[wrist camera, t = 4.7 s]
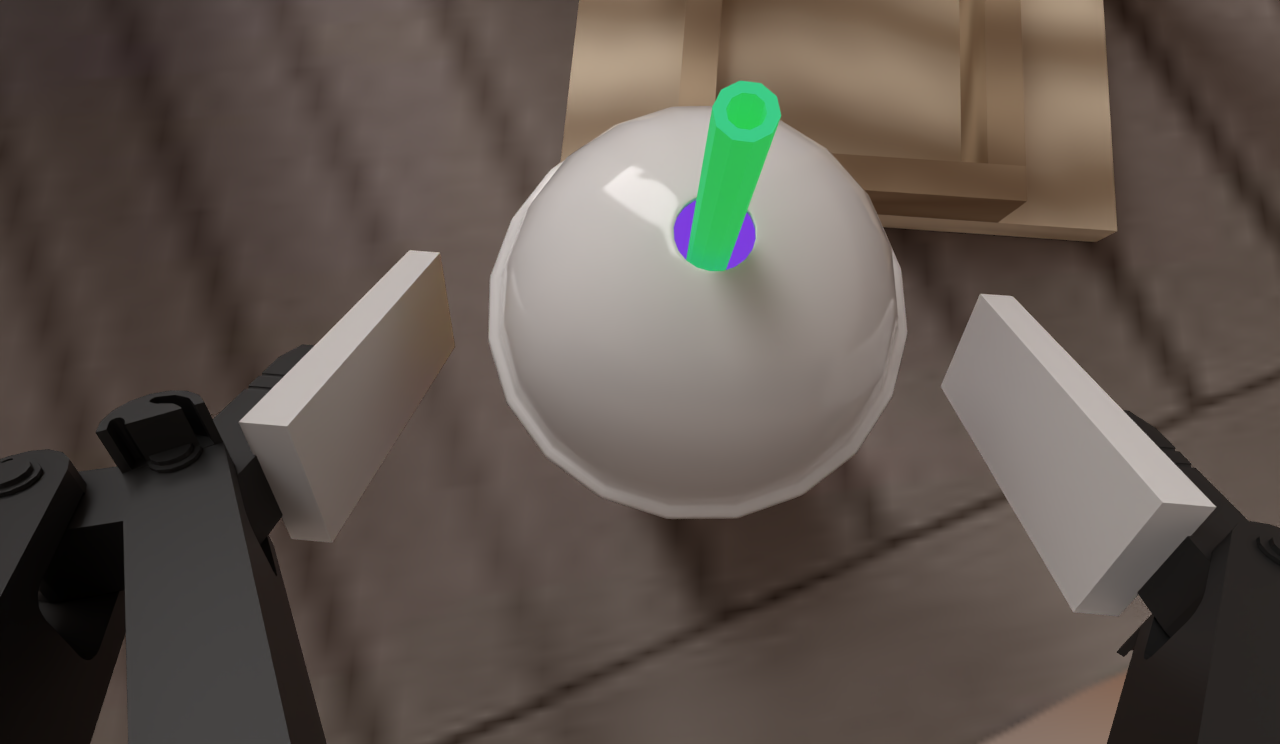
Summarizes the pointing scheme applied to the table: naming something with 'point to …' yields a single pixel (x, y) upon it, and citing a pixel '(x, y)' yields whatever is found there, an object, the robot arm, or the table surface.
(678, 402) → the smoothie
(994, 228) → the wooden pedestal stand
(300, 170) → the table surface
